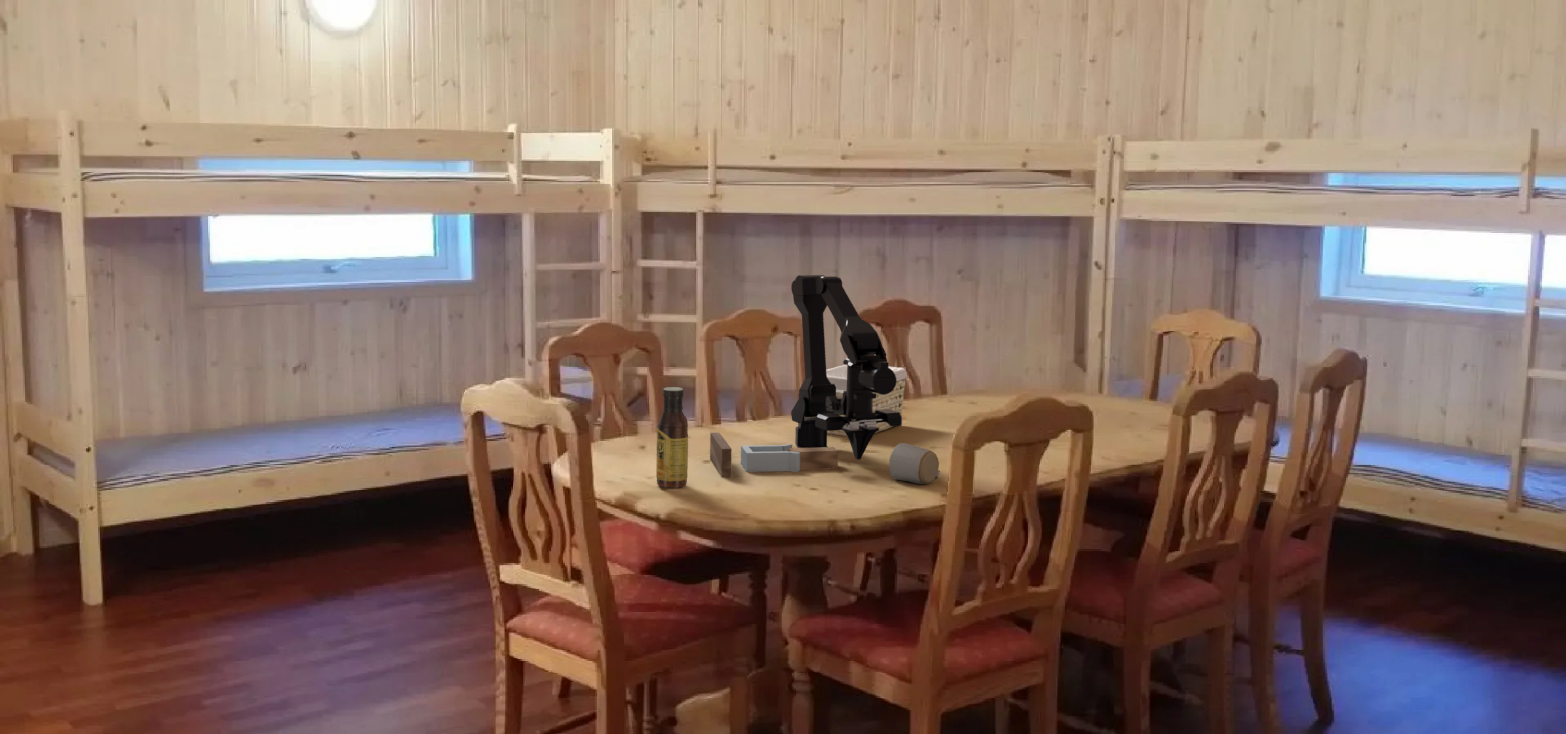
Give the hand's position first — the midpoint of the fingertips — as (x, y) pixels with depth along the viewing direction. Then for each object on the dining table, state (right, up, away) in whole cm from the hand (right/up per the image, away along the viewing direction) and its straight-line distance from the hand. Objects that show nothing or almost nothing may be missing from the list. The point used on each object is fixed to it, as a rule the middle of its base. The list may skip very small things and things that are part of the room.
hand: (857, 459), depth 312 cm
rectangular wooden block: (-10, -2, -2) cm, 10 cm away
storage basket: (+2, +4, +44) cm, 44 cm away
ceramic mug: (+11, -4, -13) cm, 18 cm away
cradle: (-19, -2, -3) cm, 19 cm away
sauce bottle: (-38, -4, -23) cm, 45 cm away
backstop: (-29, -2, -5) cm, 30 cm away
